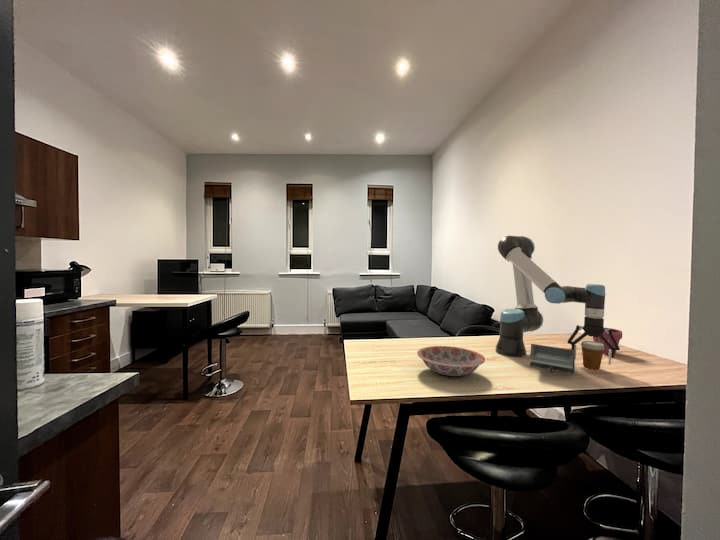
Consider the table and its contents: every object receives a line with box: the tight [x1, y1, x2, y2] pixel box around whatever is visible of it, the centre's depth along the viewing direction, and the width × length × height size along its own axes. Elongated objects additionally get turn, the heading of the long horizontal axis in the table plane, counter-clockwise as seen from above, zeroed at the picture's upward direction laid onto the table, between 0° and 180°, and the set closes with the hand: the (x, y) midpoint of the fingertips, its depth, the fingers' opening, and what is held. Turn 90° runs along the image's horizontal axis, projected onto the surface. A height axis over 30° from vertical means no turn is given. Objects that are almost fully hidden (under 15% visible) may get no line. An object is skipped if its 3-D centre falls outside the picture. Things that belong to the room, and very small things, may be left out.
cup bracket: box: [529, 343, 576, 374], centre depth 151 cm, size 18×20×10 cm
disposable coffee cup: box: [580, 340, 605, 371], centre depth 158 cm, size 10×10×12 cm
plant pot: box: [592, 327, 623, 354], centre depth 185 cm, size 14×14×13 cm
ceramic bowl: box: [416, 345, 486, 377], centre depth 148 cm, size 29×29×8 cm
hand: (591, 361), depth 158 cm, fingers open, 13 cm apart
